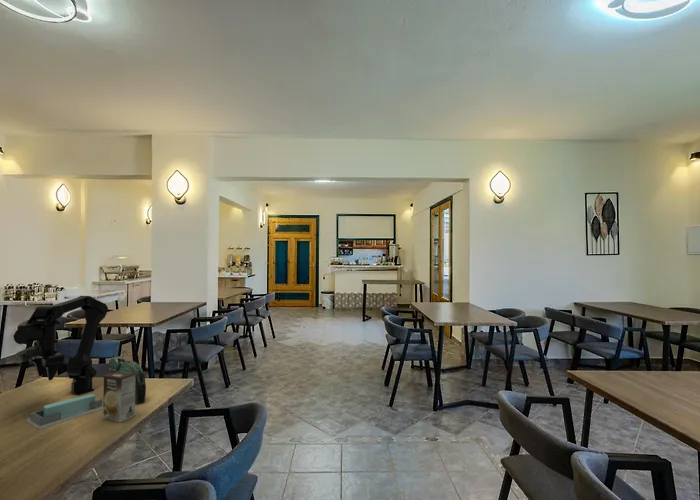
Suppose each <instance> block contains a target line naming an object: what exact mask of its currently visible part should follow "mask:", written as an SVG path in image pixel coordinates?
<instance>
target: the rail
mask: <svg viewBox="0 0 700 500" xmlns="http://www.w3.org/2000/svg"><path fill="white" fill-rule="evenodd" d="M95 398H96V395H95V394H93V393H90V394H86V395H82V396H77V397H74V398H70V399H65V400H62V401H61V400H60V401H57V402H53V403H50V404H49V403H48V404H45V405H43V409H44V410H43V409H42V410H43V417H45V416H48V415H52V414H55V413H58V412H61V415H65V414H68V413H72V412H75V411H79V410H83V409H86V408H90V403H91V402H94V401H95Z"/></svg>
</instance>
